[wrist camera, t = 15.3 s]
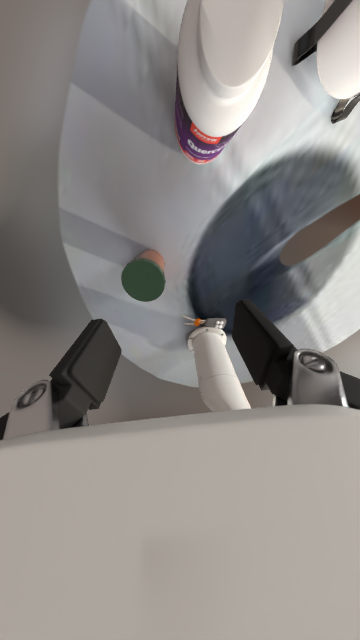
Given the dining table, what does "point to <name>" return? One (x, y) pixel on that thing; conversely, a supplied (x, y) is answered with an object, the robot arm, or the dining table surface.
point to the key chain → (208, 322)
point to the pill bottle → (221, 70)
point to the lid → (143, 279)
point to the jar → (153, 257)
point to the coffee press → (335, 53)
